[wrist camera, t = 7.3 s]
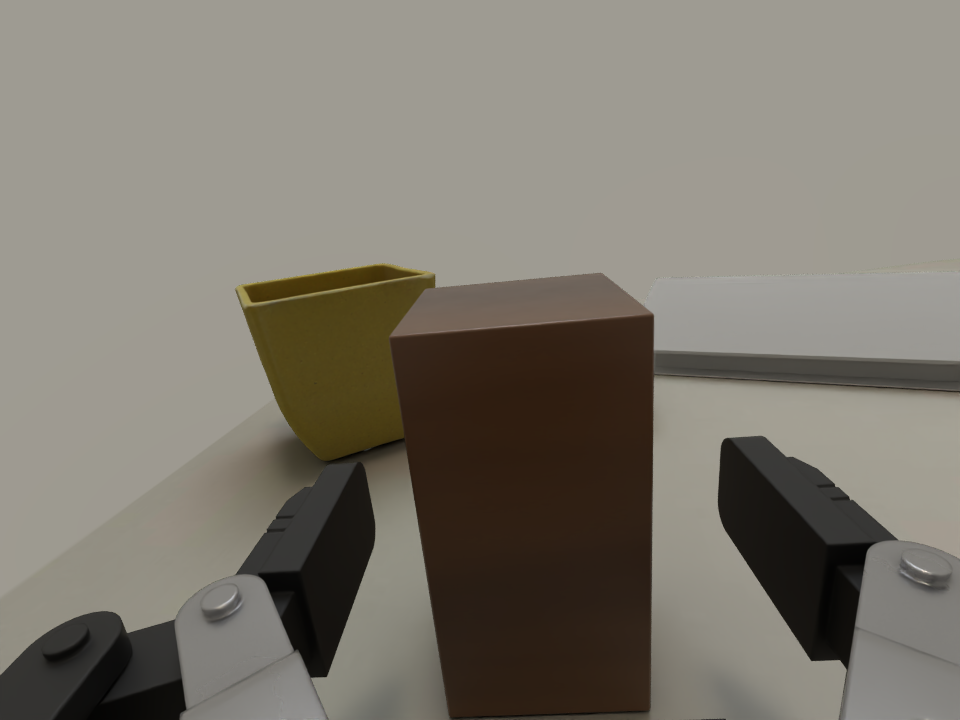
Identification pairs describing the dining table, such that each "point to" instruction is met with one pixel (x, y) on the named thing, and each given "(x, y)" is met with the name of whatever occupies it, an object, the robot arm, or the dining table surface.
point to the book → (811, 328)
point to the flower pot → (334, 351)
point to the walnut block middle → (533, 490)
